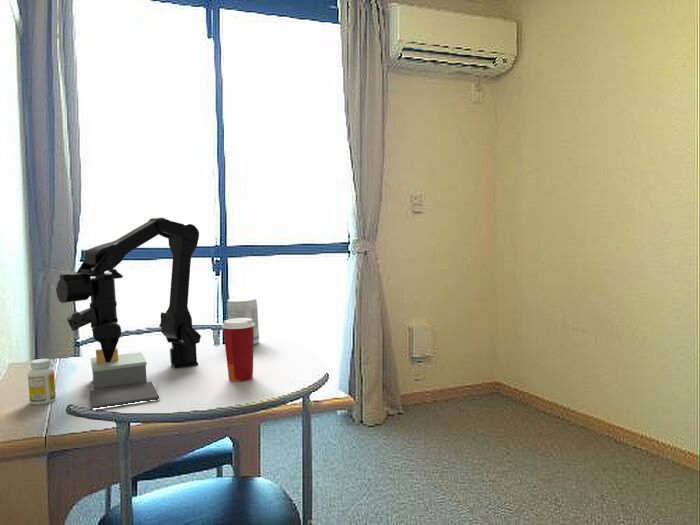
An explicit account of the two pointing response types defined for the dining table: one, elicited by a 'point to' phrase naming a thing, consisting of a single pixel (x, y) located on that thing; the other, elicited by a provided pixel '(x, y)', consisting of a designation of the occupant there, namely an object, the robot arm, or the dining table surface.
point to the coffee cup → (239, 348)
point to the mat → (123, 394)
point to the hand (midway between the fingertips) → (107, 359)
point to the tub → (119, 377)
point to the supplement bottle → (41, 382)
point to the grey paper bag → (244, 312)
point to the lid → (117, 361)
